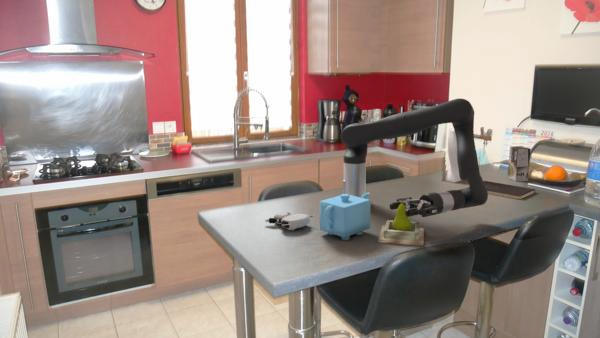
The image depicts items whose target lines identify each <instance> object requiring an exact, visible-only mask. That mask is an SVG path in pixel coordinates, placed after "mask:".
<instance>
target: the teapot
mask: <svg viewBox="0 0 600 338" xmlns="http://www.w3.org/2000/svg"><path fill="white" fill-rule="evenodd" d="M370 194H371V192H369V191H368V192H365V193H364V194H363V195H362V197H356V196H352V195H348V194H343V193H341V194H340V195H337V196H333V197H330V198H326V199H323V200H319V230H321V231H323V232H326V234H327V235H328V234H329V235H328V236H334V235H335V236H337V237H340V238H341V240H342V241H349V240H351V238H350V236H353V235H357V236H362V235H364V231H366V230H369V229H371V199H368V198H367V197H368V196H369V195H370Z"/></svg>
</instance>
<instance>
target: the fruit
mask: <svg viewBox="0 0 600 338" xmlns="http://www.w3.org/2000/svg"><path fill="white" fill-rule="evenodd" d="M399 199H400V200H401V199H402V198H401V197H400V198H399ZM401 201H402V200H401ZM392 221H393V223H392V227H393V229H394V230H399V231H409V230H410V228H411V222H412V221H411V220H410V219H409V217H407V216H406V209H405V206H404V204H403V202H402V203H401V204H400V206H399V207H398V209H396V212H395V217H394V219H393V220H392Z"/></svg>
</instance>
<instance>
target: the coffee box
mask: <svg viewBox="0 0 600 338" xmlns="http://www.w3.org/2000/svg"><path fill="white" fill-rule="evenodd" d="M531 150H532V149H531V148H529V147H526V146H522V145H519V146H518V145H517V146H509V153H508V155H509V156H508V166H507V167H508V168H507V169H508V170H507V178H508V179H510V180H512V181H514V182H528V181H529V174H530V173H529V172H530V161H531V160H530V159H531Z"/></svg>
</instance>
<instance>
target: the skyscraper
mask: <svg viewBox="0 0 600 338" xmlns="http://www.w3.org/2000/svg"><path fill="white" fill-rule="evenodd" d="M447 154H448V161H449V162H448V167H447V164H446V158H443V165H442V175H441V176H442V178H441V182H445V183H452V184H455V183H459V182H461V181H462V180H461V179H460V176H459V170H458V162H457V139H456V134H455V130H454V127H453V125H452V126H451V127H450V128H449V132H448V140H447ZM446 171H447V172H446Z"/></svg>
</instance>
